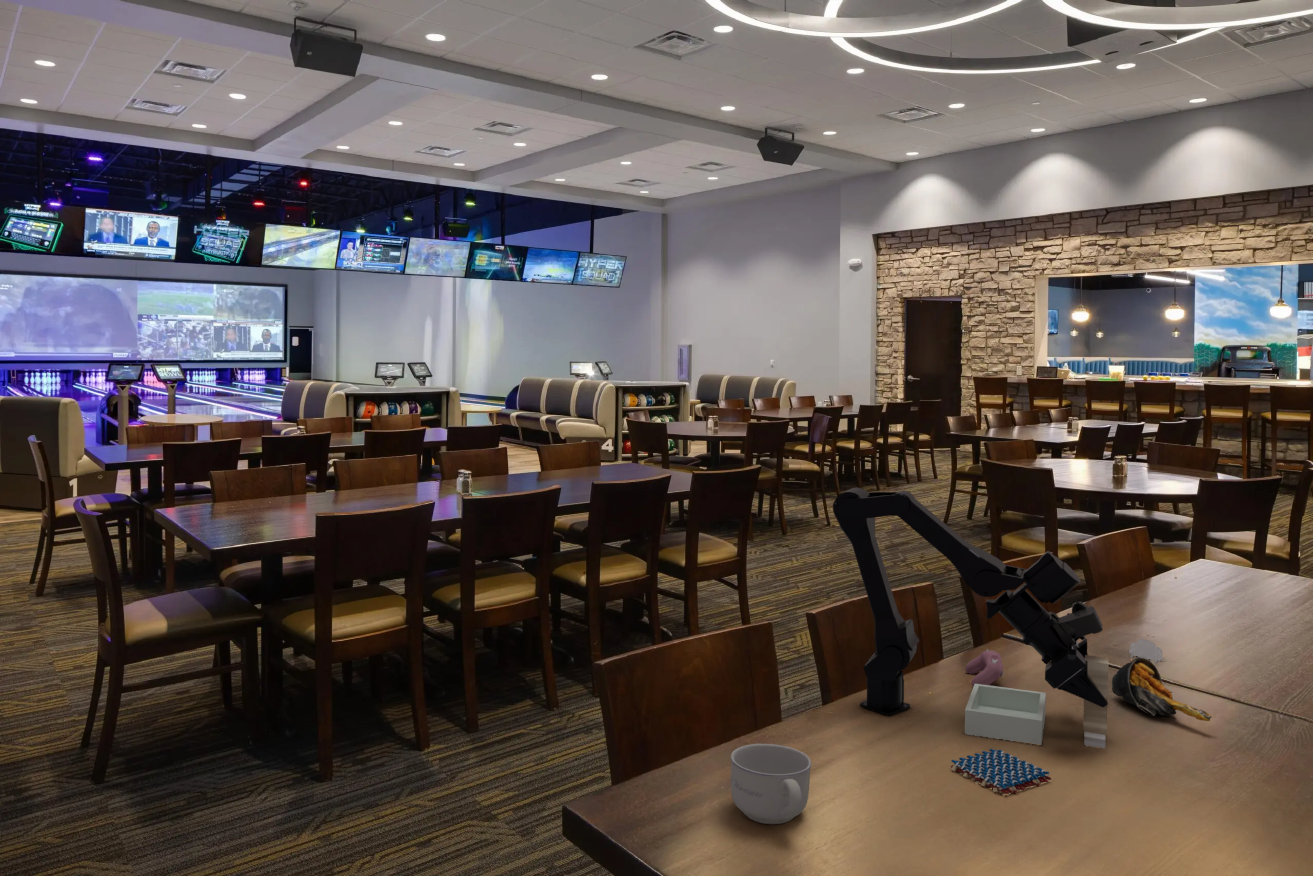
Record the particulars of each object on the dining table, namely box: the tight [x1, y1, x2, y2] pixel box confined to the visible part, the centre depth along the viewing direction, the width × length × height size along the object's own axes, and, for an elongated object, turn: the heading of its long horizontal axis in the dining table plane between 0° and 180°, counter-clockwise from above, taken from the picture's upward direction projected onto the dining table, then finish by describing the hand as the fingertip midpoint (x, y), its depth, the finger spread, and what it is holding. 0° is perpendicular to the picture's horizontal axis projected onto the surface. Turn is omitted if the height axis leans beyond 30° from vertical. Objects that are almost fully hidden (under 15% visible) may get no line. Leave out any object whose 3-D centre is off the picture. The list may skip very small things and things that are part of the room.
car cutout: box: [1128, 638, 1164, 664], centre depth 190 cm, size 15×7×4 cm, turn 42°
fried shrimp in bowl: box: [1111, 657, 1212, 722], centre depth 157 cm, size 9×11×18 cm
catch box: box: [964, 684, 1047, 745], centre depth 153 cm, size 14×12×4 cm
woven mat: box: [950, 748, 1052, 795], centre depth 134 cm, size 10×11×2 cm
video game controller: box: [964, 648, 1005, 688], centre depth 174 cm, size 10×5×7 cm, turn 169°
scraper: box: [1082, 654, 1109, 749], centre depth 147 cm, size 8×3×13 cm, turn 155°
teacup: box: [730, 743, 812, 825], centre depth 122 cm, size 14×11×8 cm
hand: (1105, 695), depth 146 cm, fingers open, 9 cm apart
